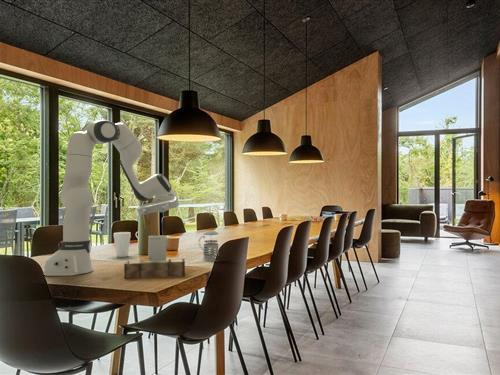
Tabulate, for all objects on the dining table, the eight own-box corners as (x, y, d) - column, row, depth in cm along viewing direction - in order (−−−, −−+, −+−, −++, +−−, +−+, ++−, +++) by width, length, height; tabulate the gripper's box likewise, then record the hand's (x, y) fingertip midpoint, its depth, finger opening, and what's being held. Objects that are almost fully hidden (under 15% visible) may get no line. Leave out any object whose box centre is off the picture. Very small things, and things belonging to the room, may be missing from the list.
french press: (217, 260, 221) (217, 212, 221) (196, 260, 223) (195, 212, 223) (222, 257, 231) (222, 211, 231) (202, 257, 233) (201, 211, 233)
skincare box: (148, 271, 194) (148, 236, 194) (147, 268, 200) (147, 235, 200) (166, 270, 196) (166, 236, 196) (165, 267, 202) (165, 234, 202)
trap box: (124, 278, 178) (124, 262, 178) (126, 274, 186) (126, 259, 186) (184, 275, 182) (184, 260, 182) (184, 272, 190) (184, 257, 190)
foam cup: (121, 257, 235) (121, 234, 235) (110, 256, 240) (109, 233, 240) (134, 255, 243) (134, 232, 244) (123, 254, 248) (123, 231, 248)
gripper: (140, 201, 216) (131, 209, 202) (178, 193, 214) (172, 200, 200) (143, 212, 217) (135, 221, 204) (182, 204, 215) (176, 212, 202)
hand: (154, 211), depth 202 cm, fingers open, 8 cm apart
